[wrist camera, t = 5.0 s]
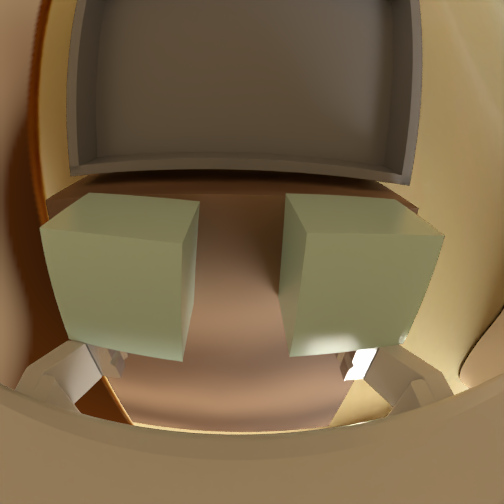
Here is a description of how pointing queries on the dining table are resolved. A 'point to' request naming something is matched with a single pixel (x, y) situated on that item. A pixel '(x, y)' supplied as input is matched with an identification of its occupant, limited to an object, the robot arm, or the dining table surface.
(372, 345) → the mint block
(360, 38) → the charcoal tray
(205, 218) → the walnut bench
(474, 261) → the dining table surface
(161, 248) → the mint block
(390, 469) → the robot arm
